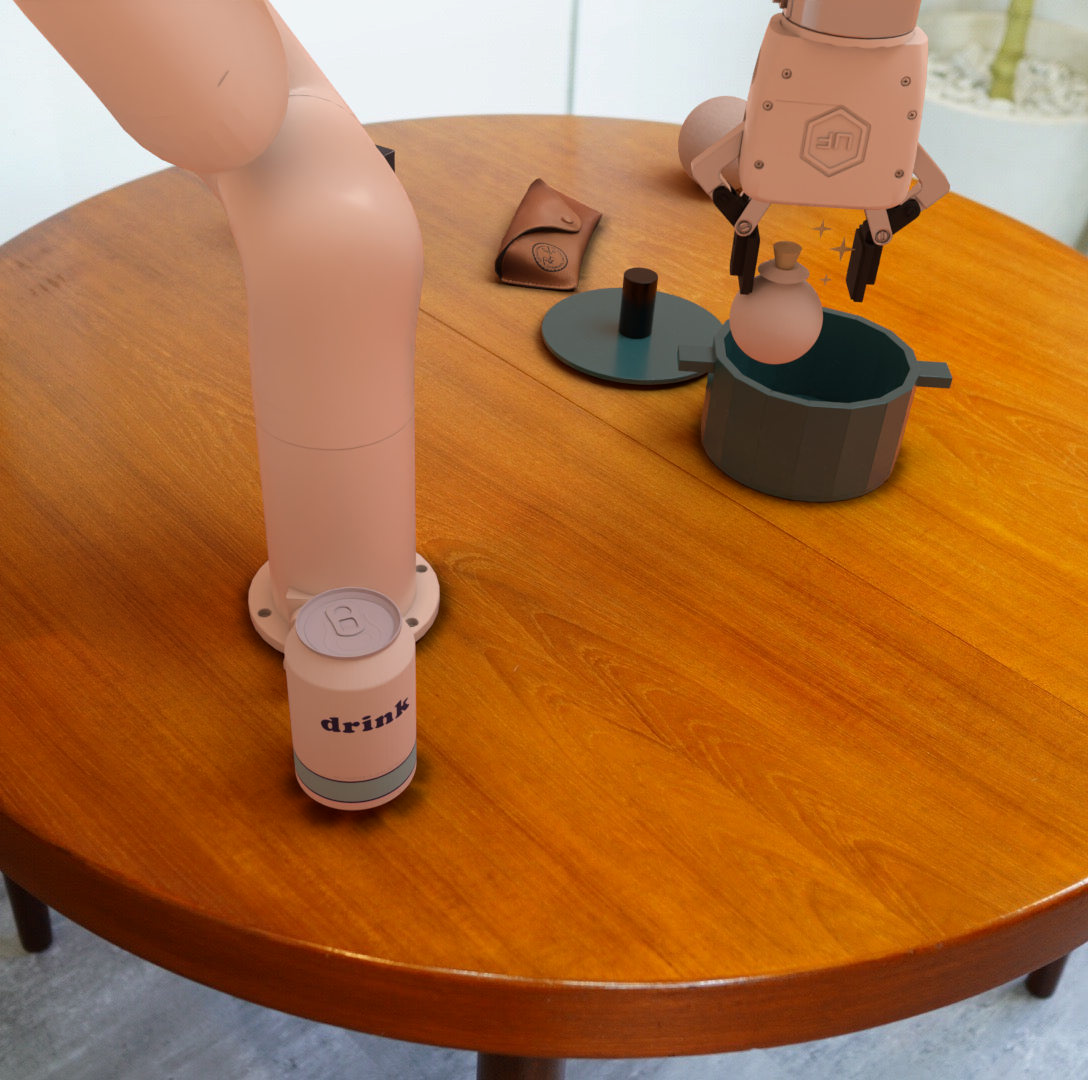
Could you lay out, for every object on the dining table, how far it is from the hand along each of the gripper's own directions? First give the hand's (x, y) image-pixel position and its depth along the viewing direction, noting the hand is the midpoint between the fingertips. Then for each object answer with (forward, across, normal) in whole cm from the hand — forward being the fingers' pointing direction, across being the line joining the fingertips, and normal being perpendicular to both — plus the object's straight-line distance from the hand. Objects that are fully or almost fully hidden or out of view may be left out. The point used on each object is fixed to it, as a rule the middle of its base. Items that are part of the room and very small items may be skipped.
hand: (799, 286), depth 85 cm
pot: (+20, +4, +12) cm, 23 cm away
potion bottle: (+6, 0, 0) cm, 6 cm away
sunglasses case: (+20, -17, +44) cm, 52 cm away
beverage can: (+20, -25, -27) cm, 42 cm away
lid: (+19, -9, +26) cm, 34 cm away
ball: (+20, 0, +63) cm, 66 cm away
